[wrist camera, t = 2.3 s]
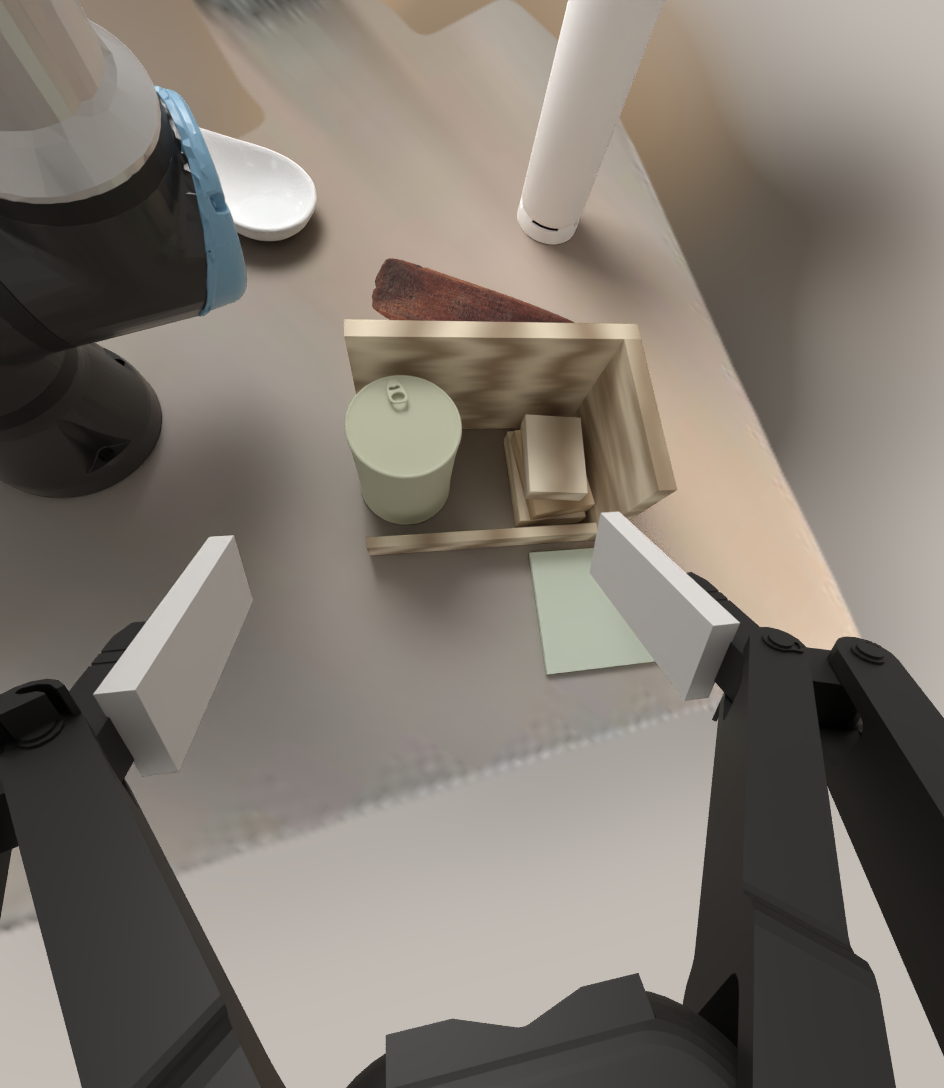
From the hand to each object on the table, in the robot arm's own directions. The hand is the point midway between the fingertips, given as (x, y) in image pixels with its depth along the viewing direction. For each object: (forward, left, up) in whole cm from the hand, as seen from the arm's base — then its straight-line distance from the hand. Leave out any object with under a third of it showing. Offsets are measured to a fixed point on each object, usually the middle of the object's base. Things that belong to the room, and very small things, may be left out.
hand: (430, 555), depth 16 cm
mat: (+19, 0, -26) cm, 32 cm away
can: (0, +14, -27) cm, 30 cm away
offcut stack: (+14, +14, -26) cm, 33 cm away
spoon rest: (-20, +50, -27) cm, 60 cm away
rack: (+8, +14, -26) cm, 31 cm away
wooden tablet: (+10, +35, -27) cm, 45 cm away
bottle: (+21, +51, -27) cm, 61 cm away
